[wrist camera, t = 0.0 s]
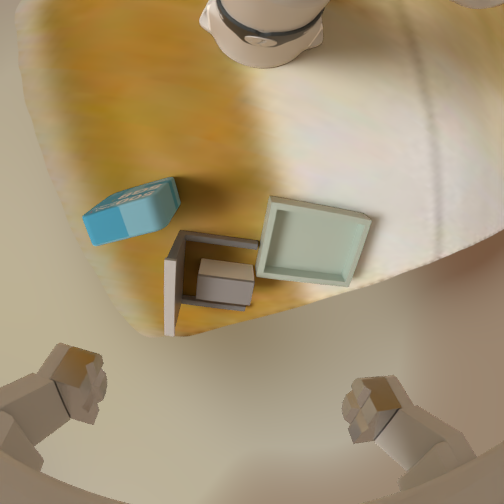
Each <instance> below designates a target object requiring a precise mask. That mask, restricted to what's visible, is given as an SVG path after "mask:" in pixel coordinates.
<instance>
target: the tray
mask: <svg viewBox="0 0 504 504" xmlns="http://www.w3.org/2000/svg"><path fill="white" fill-rule="evenodd" d="M371 222H372V220H371V219H369V218H368V217H367V216H366V215H365V214H364V213H359V212H354V211H349V210H344V209H340V208H335V207H329V206H324V205H319V204H314V203H308V202H303V201H297V200H292V199H286V198H280V197H274V196H269V200H268V205H267V210H266V215H265V220H264V226H263V231H262V236H261V240H260V245H259V250H258V255H257V260H256V265H255V269H256V277H261V278H269V279H278V280H287V281H295V282H304V283H314V284H323V285H332V286H342V287H349V285H350V282H351V280H352V277H353V274H354V272H355V269H356V266H357V263H358V260H359V258H360V255H361V252H362V249H363V246H364V243H365V240H366V237H367V234H368V231H369V228H370V225H371Z"/></svg>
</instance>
